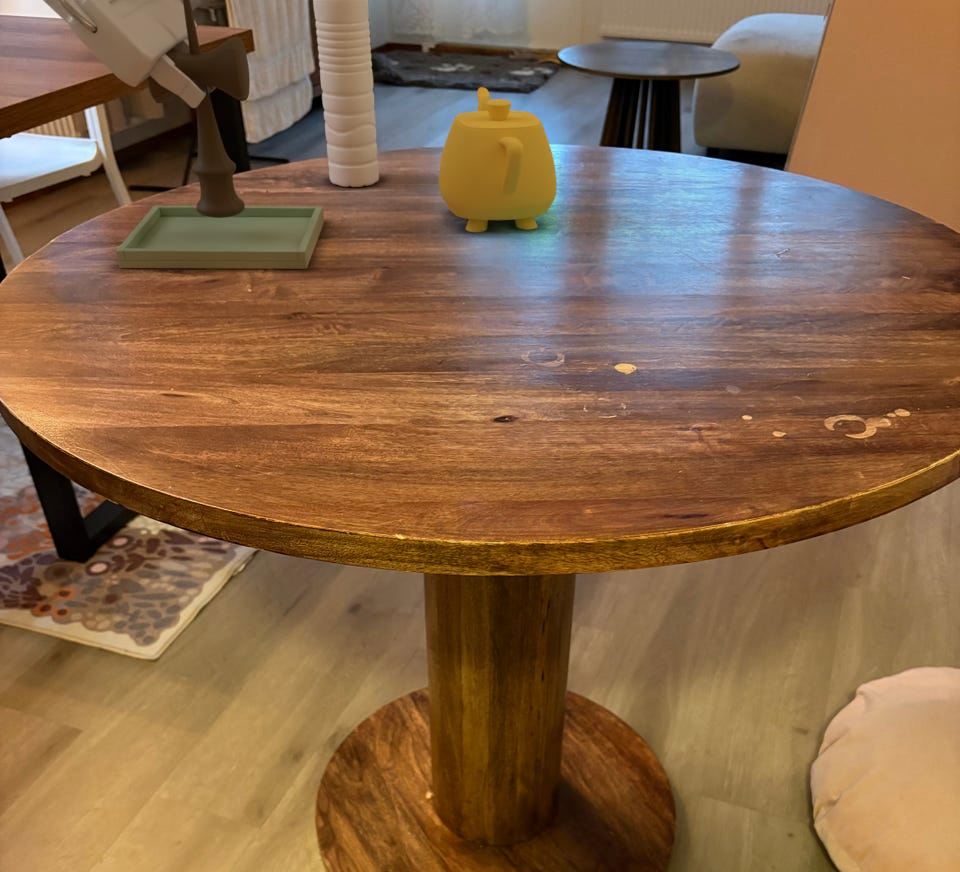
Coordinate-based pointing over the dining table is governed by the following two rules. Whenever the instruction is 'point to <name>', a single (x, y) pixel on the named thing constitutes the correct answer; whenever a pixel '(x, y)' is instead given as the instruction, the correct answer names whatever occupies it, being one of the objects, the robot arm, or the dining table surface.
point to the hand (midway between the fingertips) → (208, 94)
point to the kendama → (211, 114)
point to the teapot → (497, 166)
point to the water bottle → (347, 90)
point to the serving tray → (223, 238)
